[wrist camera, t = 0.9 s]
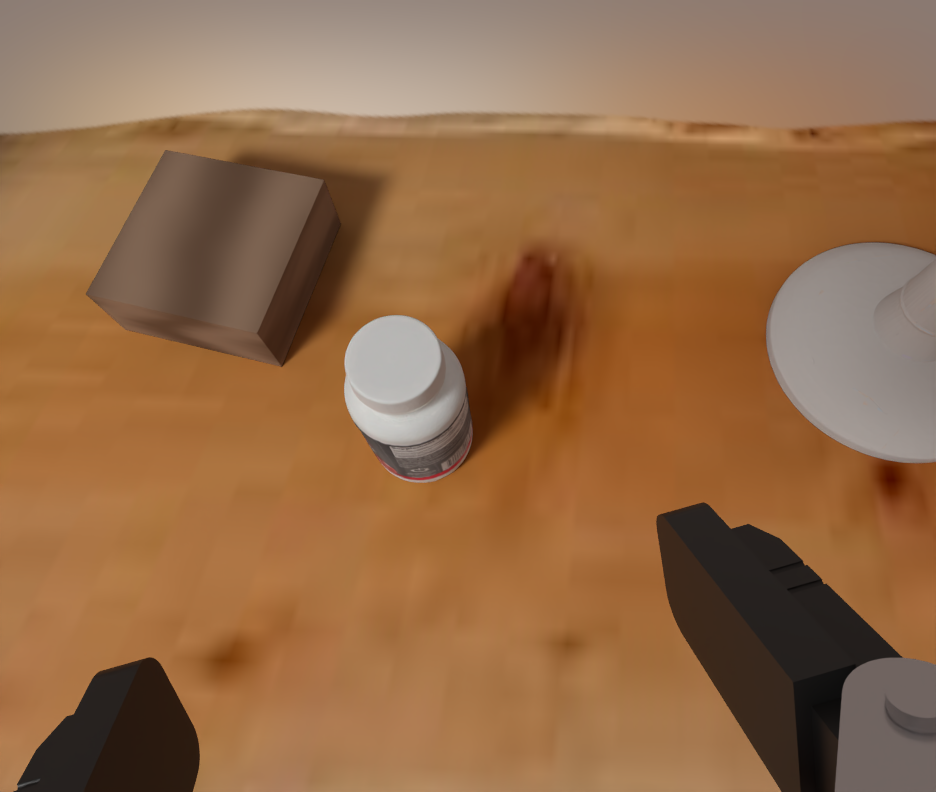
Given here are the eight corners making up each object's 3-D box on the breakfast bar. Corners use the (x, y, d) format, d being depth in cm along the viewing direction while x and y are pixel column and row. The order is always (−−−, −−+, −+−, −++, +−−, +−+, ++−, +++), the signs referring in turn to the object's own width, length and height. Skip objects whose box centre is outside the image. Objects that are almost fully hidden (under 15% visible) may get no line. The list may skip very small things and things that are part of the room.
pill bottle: (360, 410, 37) (311, 325, 28) (452, 375, 37) (433, 280, 28) (392, 500, 35) (350, 440, 26) (488, 463, 35) (480, 390, 26)
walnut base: (125, 329, 40) (85, 294, 36) (195, 194, 43) (165, 150, 39) (281, 366, 38) (256, 333, 34) (340, 223, 42) (324, 179, 38)
